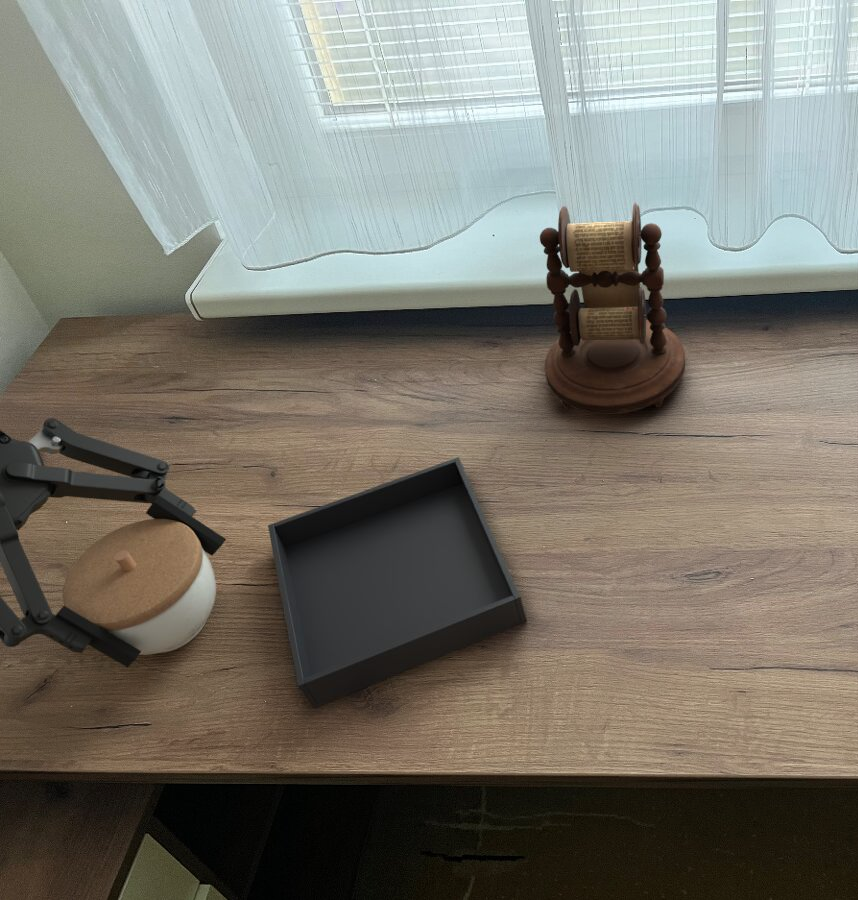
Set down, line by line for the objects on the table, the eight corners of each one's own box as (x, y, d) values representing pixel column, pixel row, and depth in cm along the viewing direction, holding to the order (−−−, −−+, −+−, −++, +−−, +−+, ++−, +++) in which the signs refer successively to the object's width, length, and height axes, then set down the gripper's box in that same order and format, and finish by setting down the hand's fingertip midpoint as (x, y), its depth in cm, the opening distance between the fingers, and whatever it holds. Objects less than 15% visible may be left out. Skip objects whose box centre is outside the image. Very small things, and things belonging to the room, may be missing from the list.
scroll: (687, 333, 98) (680, 165, 84) (684, 424, 87) (675, 249, 73) (557, 336, 100) (529, 173, 86) (538, 425, 89) (504, 256, 75)
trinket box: (256, 577, 79) (213, 508, 72) (198, 683, 71) (144, 617, 65) (150, 568, 81) (99, 500, 74) (83, 670, 73) (20, 605, 67)
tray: (312, 708, 68) (297, 686, 66) (281, 548, 81) (267, 525, 78) (527, 621, 72) (520, 597, 70) (466, 481, 85) (458, 456, 82)
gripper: (24, 366, 76) (243, 512, 82) (-220, 577, 61) (73, 736, 67) (37, 323, 71) (270, 482, 77) (-226, 541, 55) (93, 717, 62)
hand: (179, 600), depth 72 cm, fingers closed on trinket box, 11 cm apart
